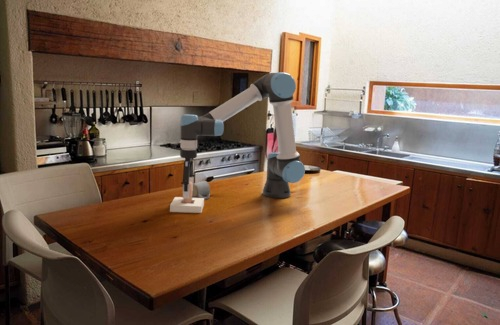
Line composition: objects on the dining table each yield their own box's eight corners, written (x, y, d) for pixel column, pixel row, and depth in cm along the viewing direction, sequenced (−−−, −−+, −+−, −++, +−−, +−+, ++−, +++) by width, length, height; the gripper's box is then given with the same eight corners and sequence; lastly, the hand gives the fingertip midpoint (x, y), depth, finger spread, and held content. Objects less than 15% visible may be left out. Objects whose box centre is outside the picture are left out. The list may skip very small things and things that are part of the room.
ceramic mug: (188, 195, 212) (189, 181, 210) (201, 193, 217) (202, 179, 216) (200, 200, 204) (201, 185, 203) (213, 198, 210) (214, 183, 208)
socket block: (204, 204, 198) (204, 198, 198) (201, 212, 184) (201, 206, 184) (174, 203, 198) (175, 197, 197) (169, 211, 184) (170, 205, 183)
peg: (192, 206, 193) (192, 181, 191) (191, 209, 189) (191, 183, 187) (183, 206, 193) (184, 181, 191) (182, 208, 189) (183, 183, 187)
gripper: (184, 144, 198) (183, 187, 202) (176, 152, 174) (175, 201, 177) (199, 145, 198) (198, 187, 202) (193, 153, 174) (192, 201, 178)
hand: (187, 194), depth 190 cm, fingers open, 13 cm apart
